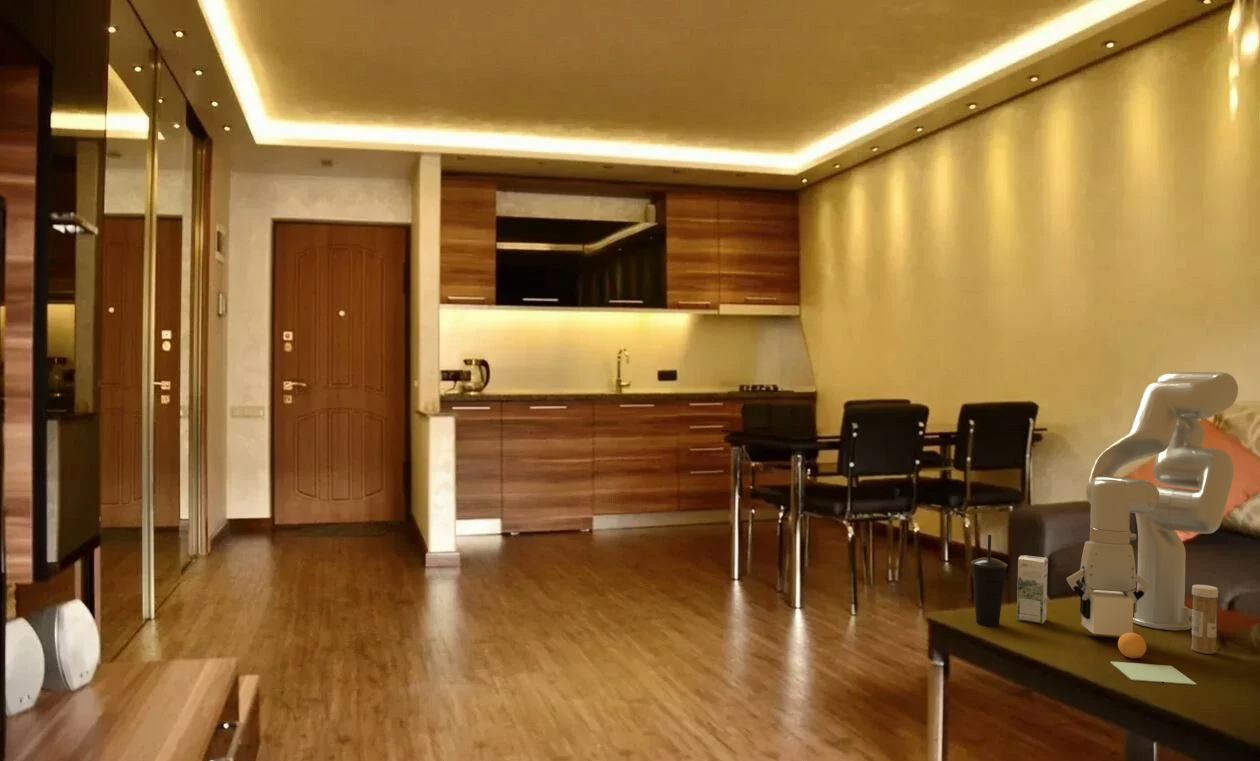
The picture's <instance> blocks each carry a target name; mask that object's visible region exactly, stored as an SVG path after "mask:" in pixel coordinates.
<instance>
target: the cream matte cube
mask: <svg viewBox="0 0 1260 761" xmlns="http://www.w3.org/2000/svg"><path fill="white" fill-rule="evenodd" d="M1089 600H1090V618H1089V619H1086V618H1084V617H1083V616H1082V615H1081V626H1083V627H1084V628H1085V629H1087V630H1088V631H1089V632H1090V633H1092V634H1093V635H1095V634H1096V635H1105V636H1106V635H1108V636H1117V637H1118V636H1119V637H1121V636H1122V635H1123V634H1125V633H1130V632H1131V633H1134V623H1133V606H1134V599H1132V598H1130V597H1128V596H1127V595H1125V594H1123V592H1118V591H1104V590H1094V591H1093V592H1092V594H1091V595H1090V597H1089Z"/></svg>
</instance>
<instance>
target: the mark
mask: <svg viewBox="0 0 1260 761" xmlns="http://www.w3.org/2000/svg"><path fill="white" fill-rule="evenodd" d="M1110 664H1111V665H1113V666H1114V667H1116V669H1117V670H1118V671H1120V672H1121V673H1122V674H1123V675H1125V676H1126V677H1127V678H1128V679H1129V680H1131V681H1136V682H1149V683H1150V682H1151V683H1162V682H1164V684H1175V685H1176V684H1177V685H1191V686H1197V683H1196V682H1194V681H1193V680H1192V679H1191V678H1189V677H1187V676H1186V675H1185V674H1184V673H1182V672H1180V671H1179V670H1177V668H1175V667H1173V666H1172V665H1166V664H1164V665H1163V664H1150V663H1138V662H1137V663H1136V662H1125V661H1123V662H1122V661H1121V662H1120V661H1110Z"/></svg>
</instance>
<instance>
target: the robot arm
mask: <svg viewBox="0 0 1260 761" xmlns="http://www.w3.org/2000/svg"><path fill="white" fill-rule="evenodd" d="M1237 382H1238V381H1236V379H1235V377H1234V376H1233V375H1231V374H1229V373H1228V372H1224V371H1223V372H1221V371H1220V372H1219V371H1218V372H1217V371H1213V372H1210V371H1174V372H1166V373H1163V374H1161V375H1159V376H1158V377H1157V378H1156V379H1155V381H1154V382H1151V383H1149V384H1148V385H1146V386H1145V387H1144V389H1143V391H1142V392H1141V395H1140V397H1139V398H1140V399H1139V401H1138V404H1137V406H1136V409H1135V412H1134V415H1133V418H1132V421H1131V423H1130V426H1129V428H1128V431H1127V432H1126V433H1127V434H1125V435H1124V436H1123V437H1121V438H1119V439H1118V440H1117V441H1115V442H1114V443H1112V444H1111V445H1110V446H1108V447H1107V448H1106V449H1105V450H1104V451H1102V452H1101V453H1100V454H1099V455H1098V457H1097V458H1096V460H1095V461H1094V463H1093V466H1092V469H1091V471H1090V474H1089V477H1088V480H1087V483H1086V488H1085V495H1086V499H1087V501H1088V503H1089V504H1090V518H1089V519H1090V524H1089V540H1086V541H1085V542H1084V546H1083V549H1082V550H1083V551H1082V556H1081V560H1080V561H1081V562H1080V569H1079V570H1078V571H1076V572H1074V573H1072V574H1070V575H1069V576H1067V577H1066V579H1065V580H1066V582H1067V583H1068V585H1069V587H1071V590H1072V591H1073V592H1074V593H1075V594H1076V595H1077V596H1078V597H1079V598H1080V599H1079V600H1080V601H1079V613H1080V614H1081V617H1082V616H1083V617H1084V618H1086V619H1089V618H1090V600H1089V597H1090V595H1091V594H1092V592H1093V591H1094V590H1103V591H1118V592H1122V593H1123V594H1125V595H1127V596H1128V597H1130V598H1132V599H1134V606H1133V624H1136V625H1138V626H1142V627H1146V628H1152V629H1156V630H1165V631H1187V630H1188V631H1189V630H1192V609H1193V608H1189V607H1187V606H1186V605H1185V596H1186V595H1185V593H1186V591H1185V590H1186V587H1185V586H1186V559H1187V558H1186V556H1187V555H1186V553H1187V552H1186V547H1185V545H1184V543H1183V541H1182V539H1181V537H1180V536H1179V534H1178V533H1177V531H1178V532H1187V533H1188V532H1189V533H1193V534H1195V533H1196V534H1205V535H1207V534H1208V535H1209V534H1213V533H1215V532H1216V531H1217V530H1218V529H1220V526H1221V524H1222V521H1223V518H1224V514H1225V510H1226V507H1227V503H1228V498H1229V496H1230V495H1229V494H1230V492H1231V487H1232V483H1233V478H1234V463H1233V459H1232V457H1231V456H1230V454H1229V453H1228V452H1226V451H1225V450H1223V449H1218V448H1215V447H1203V445H1204V439H1205V437H1206V436H1205V435H1206V432H1205V428H1204V426H1203V424H1202V423H1201V422H1200V420H1206V419H1209V418H1212V417H1215V416H1216V415H1218V414H1220V413H1223V412H1224V411H1226V410H1229V408H1231V407H1232V406H1233V405H1234V404H1235V402H1236V400H1237V397H1238V393H1239V388H1238V386H1239V385H1238V383H1237ZM1153 456H1155V458H1154V460H1153V461H1154V462H1153V464H1152V465H1153V466H1152V475H1153V477H1154V479H1155V480H1156V481H1157V482H1159V483H1160V484H1163V485H1166V486H1160V485H1159V486H1158V485H1155V483H1152V482H1151V481H1149V480H1146V479H1142V478H1132V477H1124V476H1115V474H1116V473H1117V472H1118V471H1119V470H1120V469H1121V468H1123V467H1125V466H1127V465H1129V464H1130V463H1133V462H1136V461H1140V460H1143V459H1146V458H1150V457H1153ZM1169 486H1172V487H1169ZM1173 486H1174V487H1173ZM1187 488H1188V489H1187ZM1189 488H1190V489H1189ZM1196 489H1199V490H1196ZM1131 514H1135V519H1136V528H1137V534H1136V533H1133V532H1131V530H1130V529H1131V528H1130V526H1131V524H1130V523H1131V521H1130V519H1131ZM1134 540H1137V572H1136V561H1135V556H1134V555H1135V554H1134V553H1135V552H1134V549H1133V546H1132V544H1131V541H1134ZM1077 581H1079V583H1080V584H1082V585H1083V586H1082V588H1081V587H1079V585H1078V584H1077ZM1135 604H1136V605H1135ZM1135 606H1136V608H1135ZM1135 609H1136V612H1135Z"/></svg>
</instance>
